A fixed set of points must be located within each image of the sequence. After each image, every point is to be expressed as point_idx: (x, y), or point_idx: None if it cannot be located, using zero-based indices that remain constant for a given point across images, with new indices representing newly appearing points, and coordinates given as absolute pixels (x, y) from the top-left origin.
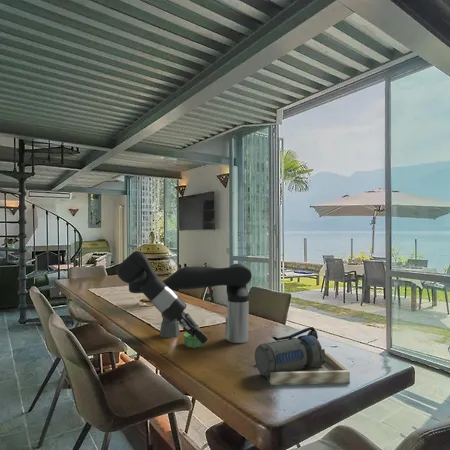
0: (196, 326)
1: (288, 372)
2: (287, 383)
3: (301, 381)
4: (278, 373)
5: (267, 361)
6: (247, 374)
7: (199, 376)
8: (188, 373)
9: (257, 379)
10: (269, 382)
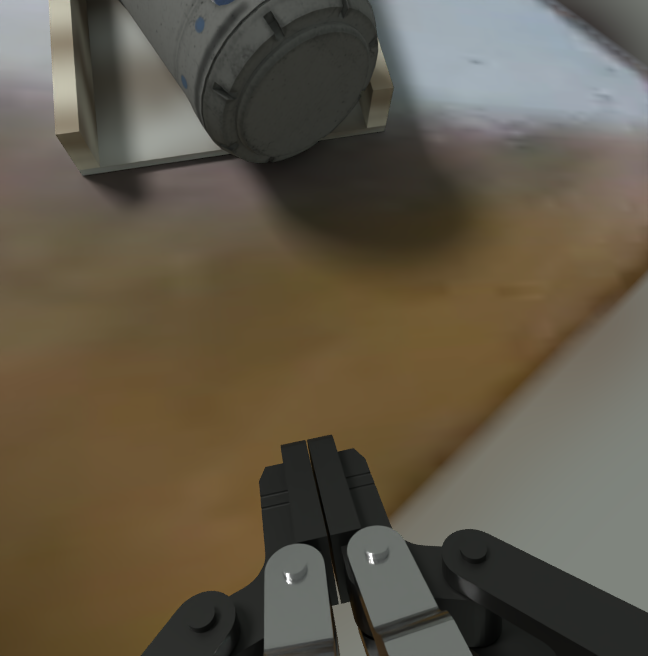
0: (328, 614)
1: None
2: None
3: None
4: (383, 56)
5: (368, 57)
6: (260, 233)
7: None
8: None
9: (323, 185)
10: (355, 134)
